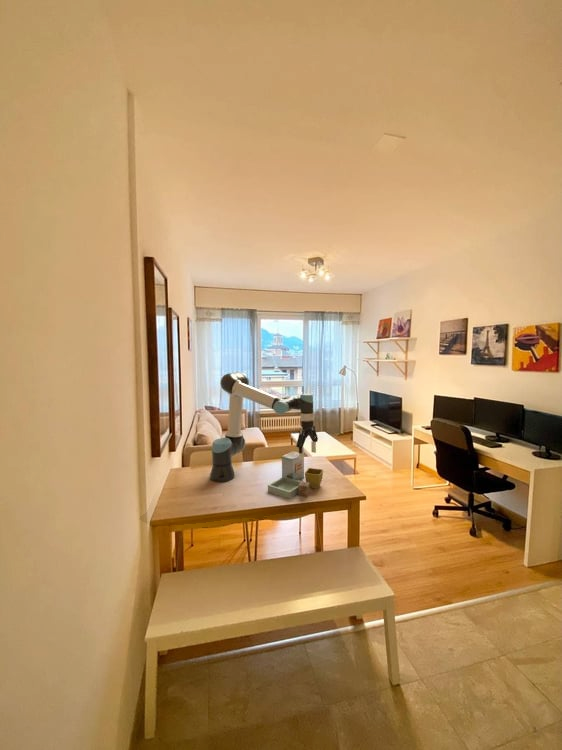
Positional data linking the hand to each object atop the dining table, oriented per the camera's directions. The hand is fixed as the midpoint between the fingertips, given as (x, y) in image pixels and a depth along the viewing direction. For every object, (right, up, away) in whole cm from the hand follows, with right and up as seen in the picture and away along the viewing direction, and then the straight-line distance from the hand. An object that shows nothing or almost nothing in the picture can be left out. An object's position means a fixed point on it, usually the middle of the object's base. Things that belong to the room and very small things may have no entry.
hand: (307, 455), depth 181 cm
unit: (-8, -16, +5) cm, 19 cm away
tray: (-13, -17, -10) cm, 23 cm away
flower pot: (+3, -17, -6) cm, 18 cm away
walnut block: (-3, -17, -16) cm, 24 cm away
